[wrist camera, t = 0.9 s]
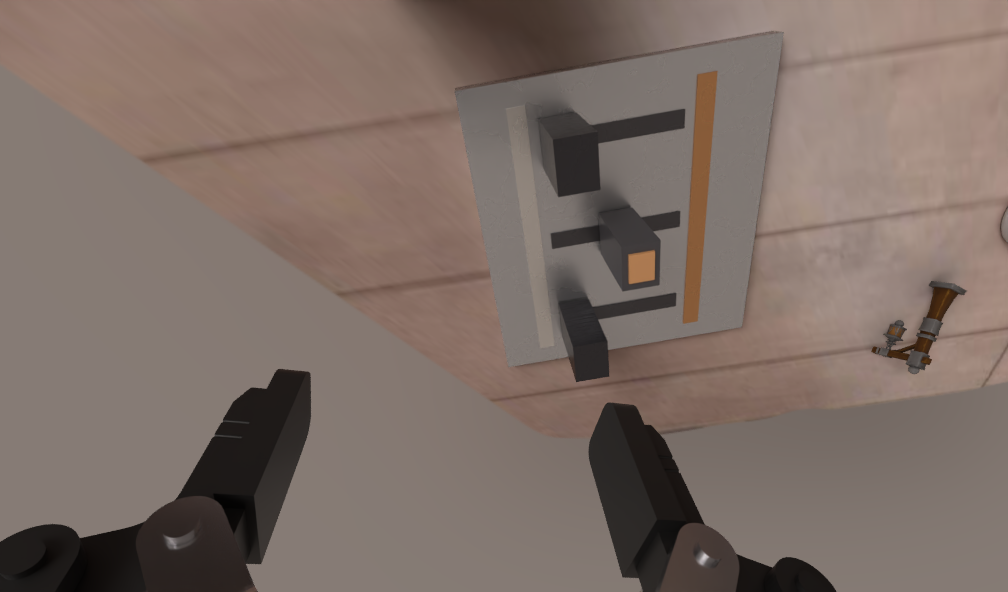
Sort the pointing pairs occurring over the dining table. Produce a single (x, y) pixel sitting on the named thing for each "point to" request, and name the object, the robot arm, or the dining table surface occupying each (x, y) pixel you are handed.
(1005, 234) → the bath foam
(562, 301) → the slider switch panel
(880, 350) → the brown branched piece
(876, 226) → the dining table surface
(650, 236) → the block
